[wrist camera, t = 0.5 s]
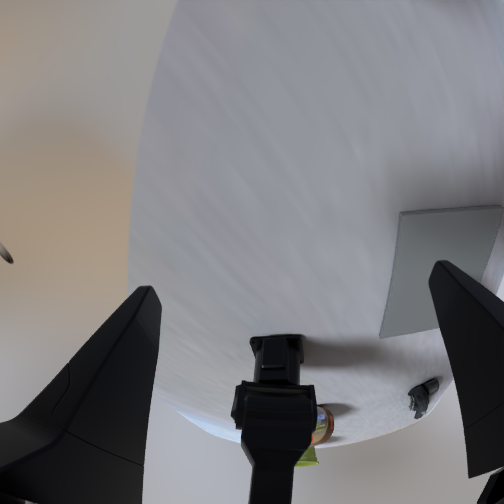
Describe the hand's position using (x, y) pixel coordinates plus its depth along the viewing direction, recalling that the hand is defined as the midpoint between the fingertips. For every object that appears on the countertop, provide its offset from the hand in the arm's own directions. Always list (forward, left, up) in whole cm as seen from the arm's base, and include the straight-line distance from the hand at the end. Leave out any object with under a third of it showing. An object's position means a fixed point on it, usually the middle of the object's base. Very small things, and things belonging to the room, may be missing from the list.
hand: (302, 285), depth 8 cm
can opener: (-51, -23, -15) cm, 59 cm away
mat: (-16, -16, -15) cm, 27 cm away
